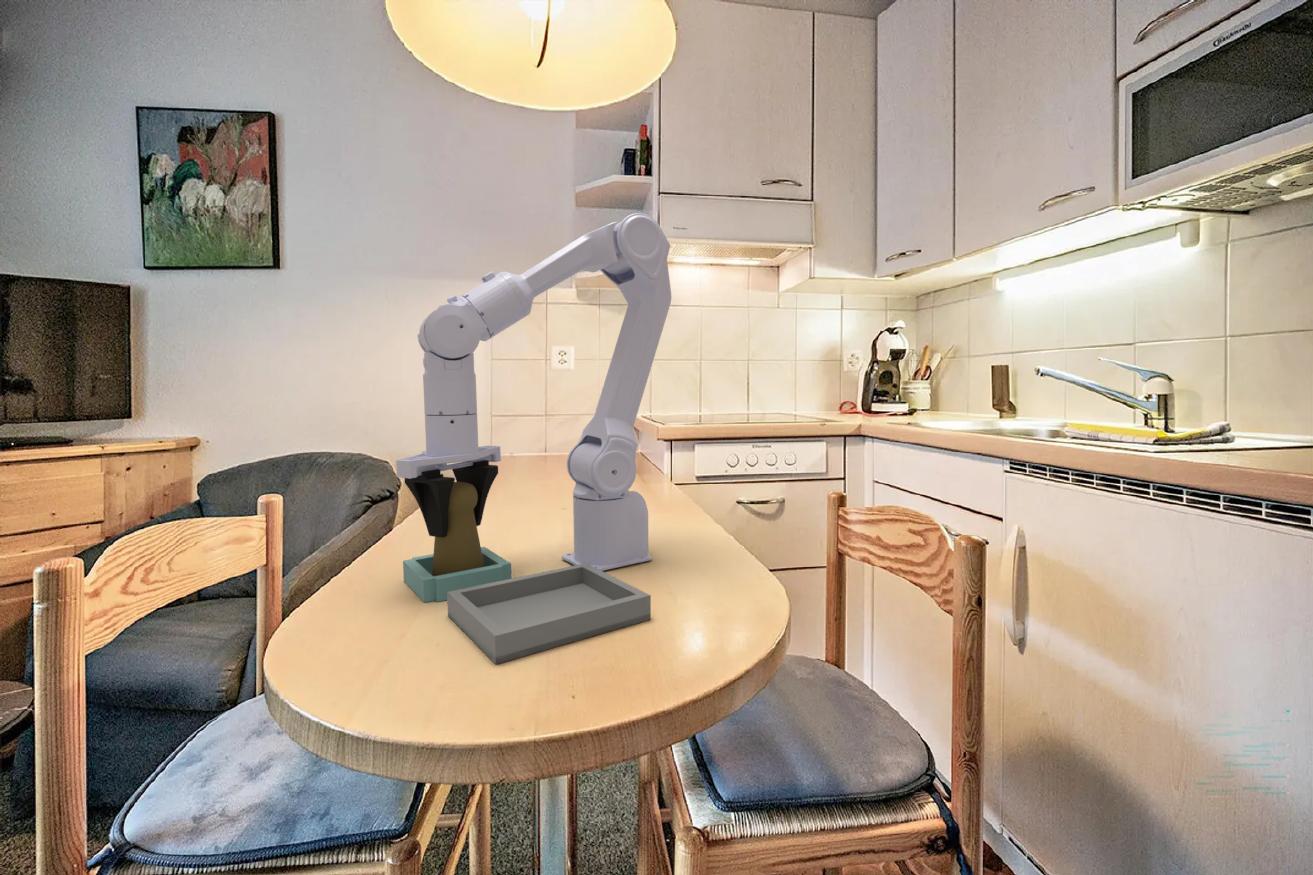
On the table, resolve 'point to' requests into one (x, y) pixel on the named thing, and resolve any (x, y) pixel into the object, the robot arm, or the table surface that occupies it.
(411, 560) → the teal collar
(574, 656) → the table surface
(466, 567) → the cork
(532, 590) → the charcoal tray
